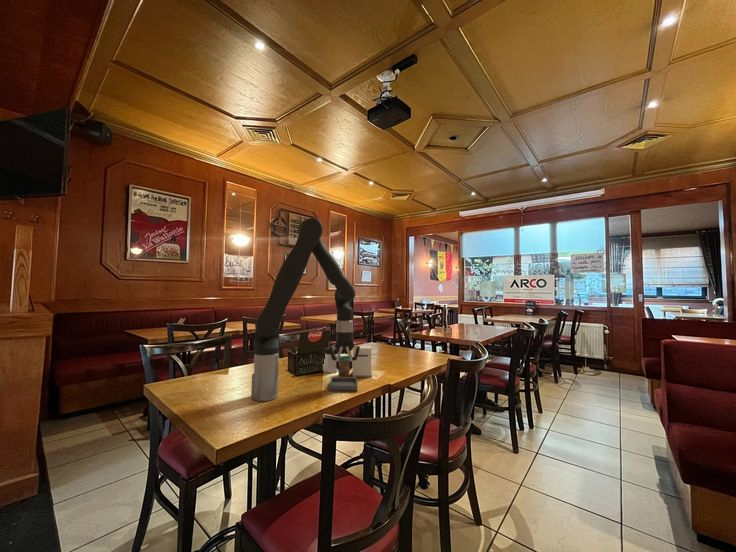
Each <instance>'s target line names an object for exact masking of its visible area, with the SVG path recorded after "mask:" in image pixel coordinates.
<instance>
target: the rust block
mask: <svg viewBox="0 0 736 552" xmlns="http://www.w3.org/2000/svg"><path fill="white" fill-rule="evenodd" d="M338 376H339V378H350V371H349V372H339V371H338Z"/></svg>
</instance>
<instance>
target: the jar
mask: <svg viewBox="0 0 736 552" xmlns="http://www.w3.org/2000/svg"><path fill="white" fill-rule="evenodd" d="M327 347H328V348H325V347H324V348H325V359H324V364H323V363H322V371H323V372H324V373H326V374H332V373H333V374H335V373H339V370H338V369H337V368H336V361H335V360H332V357H331V353H330V350H329V347H330V346H327ZM338 353H339V352H338V350H337V349H336V348H335V349H334V355H335V357H337V356H338Z"/></svg>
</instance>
